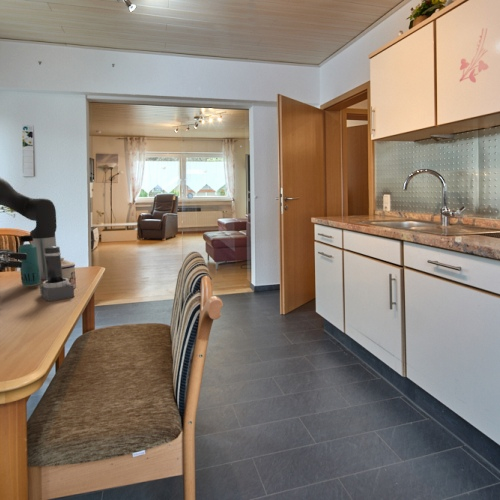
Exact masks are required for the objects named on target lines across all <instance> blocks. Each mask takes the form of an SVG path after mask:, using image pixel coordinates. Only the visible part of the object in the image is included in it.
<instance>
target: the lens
mask: <svg viewBox="0 0 500 500" xmlns="http://www.w3.org/2000/svg"><path fill="white" fill-rule="evenodd" d="M44 250H45V259H46V268H47V277H48V279H47V280H48V283H58V282H63V275H62V266H61V258H62V256H61V249H60V246H58V245H56V246H52V247H46V248H44Z"/></svg>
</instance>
